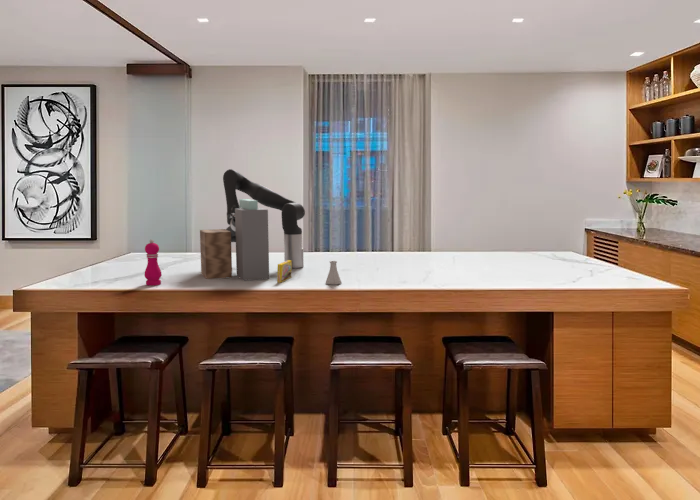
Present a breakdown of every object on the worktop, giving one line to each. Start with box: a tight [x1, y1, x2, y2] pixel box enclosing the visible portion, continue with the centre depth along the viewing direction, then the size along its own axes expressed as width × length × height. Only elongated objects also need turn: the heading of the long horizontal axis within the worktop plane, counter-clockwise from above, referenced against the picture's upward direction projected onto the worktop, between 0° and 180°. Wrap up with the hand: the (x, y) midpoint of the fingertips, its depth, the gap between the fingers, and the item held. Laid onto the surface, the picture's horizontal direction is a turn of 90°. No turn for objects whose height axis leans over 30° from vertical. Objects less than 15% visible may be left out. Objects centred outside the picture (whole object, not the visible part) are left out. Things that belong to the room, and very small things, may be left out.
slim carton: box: [238, 198, 259, 210], centre depth 309 cm, size 4×22×4 cm, turn 21°
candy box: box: [276, 260, 292, 284], centre depth 299 cm, size 16×2×8 cm, turn 168°
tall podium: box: [235, 207, 270, 281], centre depth 305 cm, size 12×16×32 cm
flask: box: [325, 260, 342, 286], centre depth 287 cm, size 7×7×10 cm
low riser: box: [199, 228, 233, 280], centre depth 311 cm, size 12×16×22 cm
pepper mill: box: [144, 239, 163, 287], centre depth 287 cm, size 7×7×20 cm
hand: (243, 207), depth 319 cm, fingers open, 8 cm apart
